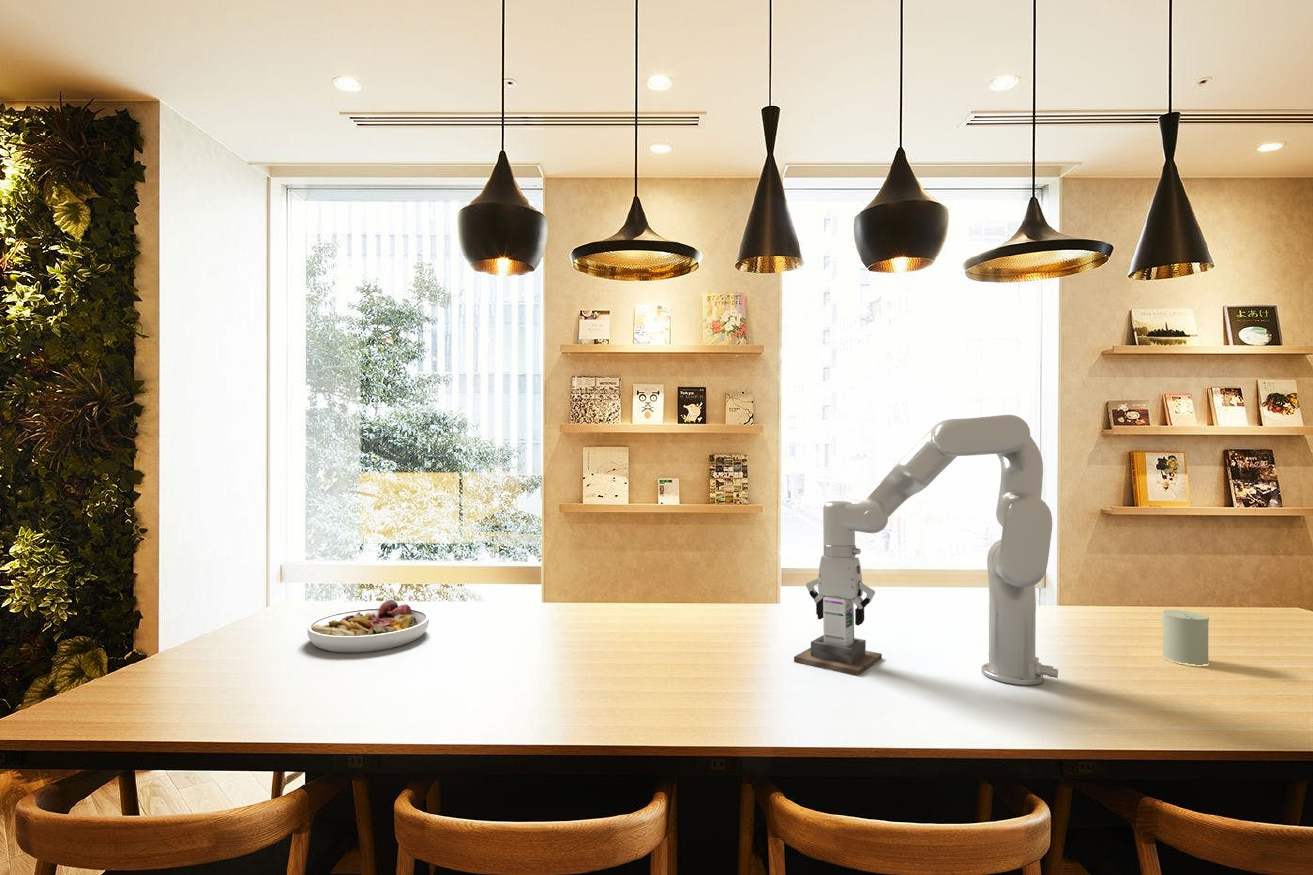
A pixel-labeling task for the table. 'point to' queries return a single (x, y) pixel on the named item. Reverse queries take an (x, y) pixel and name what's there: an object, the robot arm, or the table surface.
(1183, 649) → the can
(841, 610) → the syrup box
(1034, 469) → the robot arm
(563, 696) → the table surface
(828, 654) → the holder
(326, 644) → the bowl
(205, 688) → the table surface
